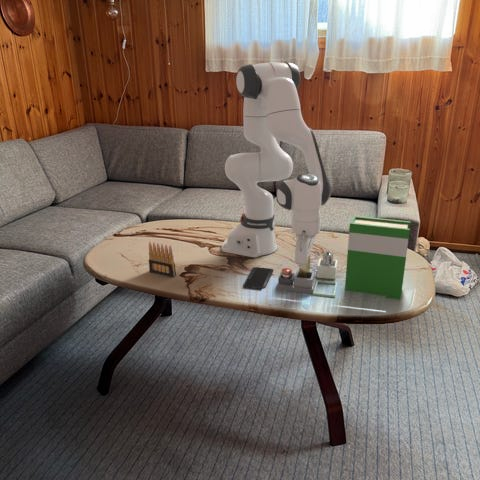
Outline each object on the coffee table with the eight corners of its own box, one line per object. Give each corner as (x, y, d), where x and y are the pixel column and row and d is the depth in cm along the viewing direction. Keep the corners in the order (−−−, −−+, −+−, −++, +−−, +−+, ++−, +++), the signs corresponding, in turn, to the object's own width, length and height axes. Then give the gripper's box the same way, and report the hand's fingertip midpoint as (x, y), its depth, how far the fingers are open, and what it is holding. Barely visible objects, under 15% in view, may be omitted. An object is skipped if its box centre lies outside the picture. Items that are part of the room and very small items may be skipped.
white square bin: (317, 278, 161) (317, 265, 159) (319, 270, 167) (319, 258, 165) (335, 280, 159) (335, 267, 158) (336, 272, 165) (337, 260, 163)
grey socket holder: (276, 290, 154) (277, 277, 152) (281, 280, 161) (281, 267, 159) (312, 295, 150) (313, 281, 149) (316, 283, 158) (316, 270, 156)
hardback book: (402, 289, 153) (410, 221, 144) (400, 299, 147) (409, 229, 137) (348, 281, 159) (353, 215, 150) (344, 291, 153) (349, 223, 143)
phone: (274, 268, 167) (264, 288, 154) (274, 271, 168) (264, 291, 154) (253, 266, 169) (242, 285, 156) (253, 269, 170) (242, 288, 156)
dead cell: (321, 276, 162) (322, 253, 158) (322, 271, 165) (323, 249, 162) (331, 277, 161) (333, 254, 157) (332, 272, 164) (334, 250, 161)
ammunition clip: (176, 275, 166) (173, 245, 161) (173, 277, 164) (170, 246, 160) (152, 269, 171) (149, 240, 166) (149, 271, 169) (146, 242, 164)
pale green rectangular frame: (312, 296, 150) (313, 292, 149) (316, 282, 158) (316, 279, 158) (334, 298, 148) (334, 295, 148) (337, 285, 156) (337, 282, 156)
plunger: (280, 280, 154) (280, 272, 153) (282, 276, 157) (282, 267, 156) (290, 281, 154) (290, 273, 152) (292, 277, 157) (292, 268, 155)
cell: (297, 278, 153) (298, 255, 149) (299, 273, 156) (300, 250, 152) (308, 280, 152) (309, 256, 148) (310, 275, 155) (311, 252, 151)
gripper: (311, 239, 136) (309, 280, 142) (319, 215, 154) (317, 252, 160) (290, 237, 138) (289, 278, 144) (301, 214, 156) (299, 251, 162)
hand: (304, 264), depth 152 cm, fingers closed on cell, 4 cm apart
